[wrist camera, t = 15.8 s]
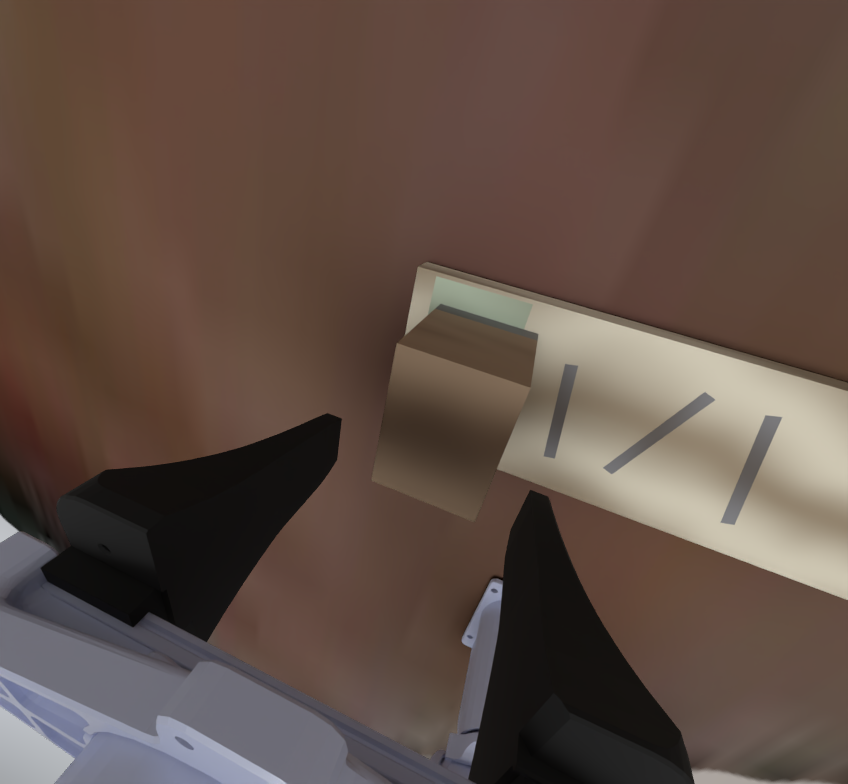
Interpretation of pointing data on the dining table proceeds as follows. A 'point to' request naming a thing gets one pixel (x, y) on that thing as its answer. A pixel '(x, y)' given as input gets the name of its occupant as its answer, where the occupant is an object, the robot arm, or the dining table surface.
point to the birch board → (673, 430)
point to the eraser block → (452, 407)
